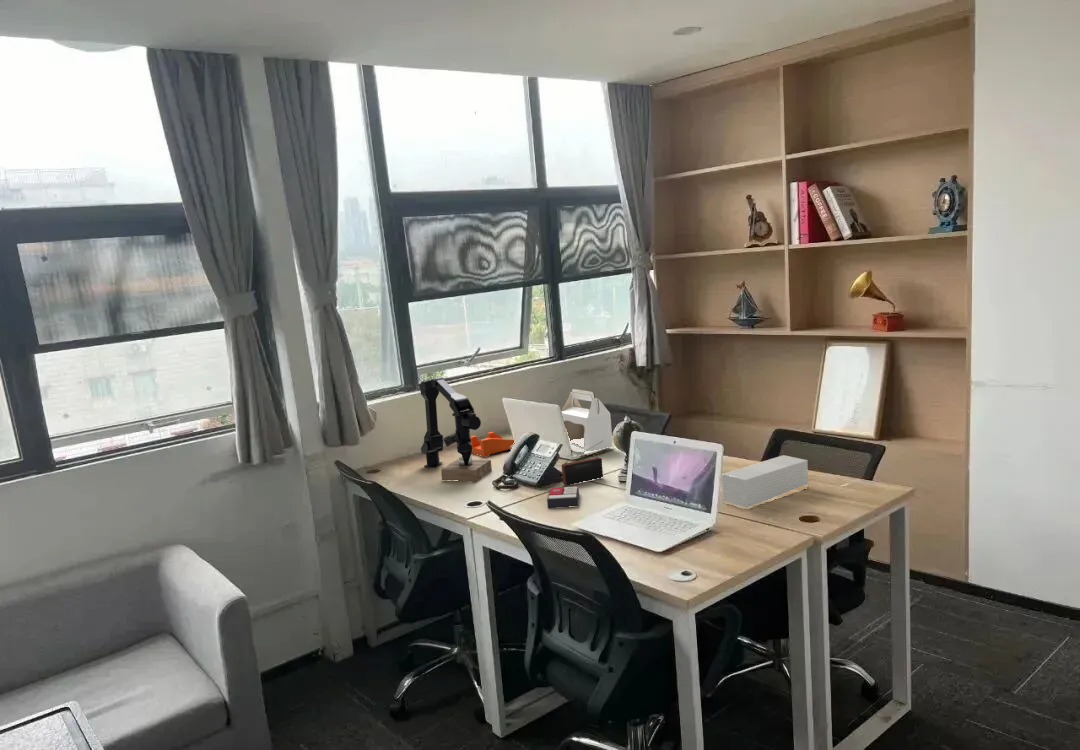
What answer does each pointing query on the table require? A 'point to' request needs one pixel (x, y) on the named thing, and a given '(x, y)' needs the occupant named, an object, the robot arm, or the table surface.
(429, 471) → the table surface
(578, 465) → the radio
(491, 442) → the tape dispenser
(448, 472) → the walnut block
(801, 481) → the grey rectangular block
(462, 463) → the steel peg
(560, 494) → the flat rectangular box
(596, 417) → the gable box
